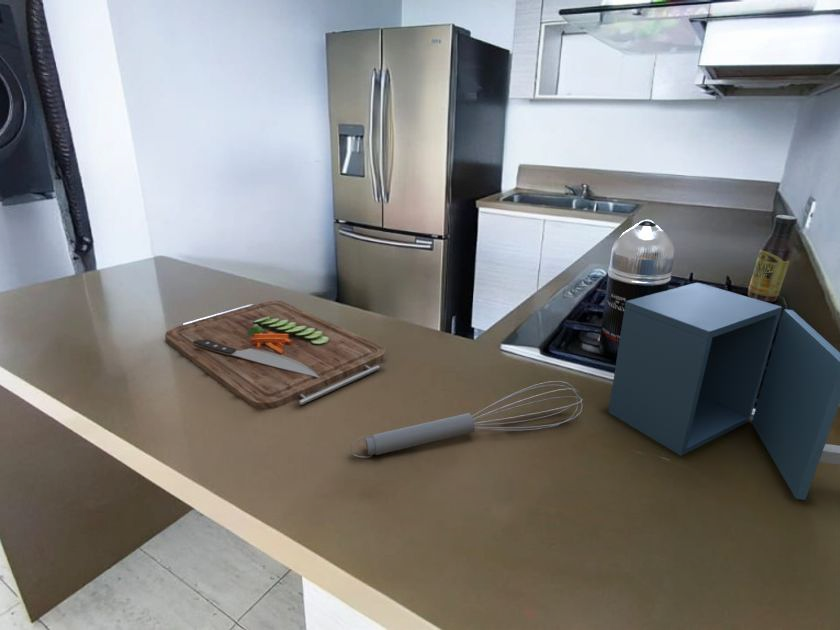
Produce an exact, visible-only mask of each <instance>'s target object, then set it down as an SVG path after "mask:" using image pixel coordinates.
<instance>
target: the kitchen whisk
mask: <svg viewBox="0 0 840 630" xmlns="http://www.w3.org/2000/svg"><path fill="white" fill-rule="evenodd" d="M548 383H563V384H567V385H568V386H570V387H571V388H570V387H568V386H567V385H561V384H555V386H557V387H563V388H559V389H555V390H551V391H547V392H543V393H540V394H537V395H533V396H529V397H527V398H523V399H521V400H517V401H515V402H512V403H509V404H506V405H503V406H501V407H498V408H496V409H493V410H491V411H489V412H488V411H487V412H486V413H484V414H481V415H479V416H477V415H478V414H480V413H482V412H484V411H486V410H488V409H489V408H492V407H493V406H495V405H497V404H499V403H501V402H504V401H506V400H507V399H509V398H512V397H514V396H517V395H519V394H522V393H524V392H528V391H531V390H534V389H539V388H543V387H552V386H553V387H554V384H548ZM566 390H570V391H572V392H573V393H574V394H575V396H574V395H571V396H570V395H564V396H557V397H550V398H549V397H548V398H544V399H539V400H535V401H532V402H527V403H524V404H520V405H516V406H513V407H509V406H512V405H514V404H518V403H520V402H523V401H526V400H529V399H533V398H535V397H539V396H542V395H546V394H549V393H554V392H558V391H566ZM577 393H578V394H577ZM559 398H560V399H561V398H576V399H575V401H574V402H573V403H572V404H568V405H565V406H561V407H557V408H553V409H547V410H543V411H538V412H532V413H525V414H522V415H515V416H510V417H503V418H497V419H490V420H484V421H478V420H480V419H483V418H486V417H489V416H493V415H496V414H498V413H502V412H506V411H509V410H513V409H515V408H519V407H522V406H523V407H524V406H526V405H530V404H535V403H539V402H542V401H547V400H553V399H559ZM583 400H584V399H583V398H582V397H580V391H579V390H578V389H576V388H575V387H573V385H571V384H570V383H569V382H565V381H561V380H554V381H553V380H551V381H550V380H549V381H545V382H541V383H537V384H533V385H531V386H527V387H525V388H523V389H521V390H518V391H516V392H513V393H512V394H510V395H507V396H505V397H503V398H500V399H499V400H497V401H496V402H494V403H492V404H490V405H488V406H487V407H485V408H483V409H481V410H480V411H478V412H476V413H474V414H473V415H472V414H471V413H470V412H467V413H463V414H459V415H454V416H450V417H445V418H441V419H436V420H432V421H428V422H423V423H418V424H415V425H411V426H405V427H402V428H397V429H391V430H387V431H384V432H379V433H375V434H372V435H371V436H368V435H364V436H362V437H360V438H358V439H357V440H355V441H354V442H353V443H352V444H351V446H350V453H351V454H352V455H353V456H355V457H357V458H365V459H366V458H371V457H372V456H373V455H375V456H379V455H383V454H388V453H392V452H396V451H401V450H404V449H408V448H409V449H410V448H412V447H416V446H421V445H426V444H429V443H434V442H439V441H442V440H447V439H450V438H455V437H459V436H463V435H464V436H465V435H467V434H471V433H472V434H473V433H474V432H475V430H476V429H478V430H487V431H489V430H490V431H508V432H509V431H515V432H516V431H517V432H518V431H520V432H521V431H534V430H539V429H540V430H541V429H542V428H544V429H547V428H552V427H557V426H559V425H561V424H563V423H564V424H565V423H567V422H569V421H571V420H574V419H576V418H577V417H578V416H579V415H580V414H581V413H582V410H583V407H584V405H583V403H582V401H583ZM579 404H581V407H580V411H579V413H577V414H576V412H577V411H578V408H579ZM575 405H576V408H575V410H574V412H573V414H572V415H571V416H569V417H568V418H567V419H566V420H564V421H560V422H556V423H552V424H544V425H534V426H521V427H520V426H516V427H515V426H509V427H508V426H507V427H505V426H504V427H502V426H501V427H499V426H498V427H497V426H493V425H506V424H515V423H521V422H527V421H528V422H529V421H533V420H537V419H538V417H536V418H530V419H524V420H518V421H517V420H516V421H508V422H497V423H491V422H495V421H502V420H509V419H514V418H520V417H526V416H531V415H536V414H537V415H538V414H542V413H546V412H551V411H552V412H553V411H556V410H559V411H558V412H555V413H552V414H548V415H544V416H540V417H539V419H543V418H547V417H551V416H554V415H557V414H560V413H562V412H564V411H566V410H568V409H570V408H571V407H573V406H575ZM506 407H509V408H506ZM504 408H506V409H504ZM501 409H503V410H501ZM561 409H562V410H561ZM495 411H496V412H495ZM575 414H576V415H575ZM475 416H476V417H475ZM473 417H474V418H473ZM475 421H478V422H475ZM489 422H490V423H489ZM364 438H365V445H366V450H367V455H368V456H363V455H357V454H354V453H353V446H354V445H355V444H356V443H357V442H359V441H360V440H362V439H364Z"/></svg>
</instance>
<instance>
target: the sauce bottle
mask: <svg viewBox="0 0 840 630" xmlns="http://www.w3.org/2000/svg"><path fill="white" fill-rule="evenodd" d="M797 221H798V217H796V216H793V215H786V214H785V215H784V214H778V215H776V216H775V218H774V220H773V222H774V223H773V227H772V231H771V232H770V235H769V236H768V237H767V239H766V241H765V242H764V244H763V245H762V246H761V248H760V249H759V252H758V256H757V259H756V261H755V266H754V267H753V272H752V275H751V279H750V282H749V285H748V290H747V297H750V298H753V299H757V300H760V301H764V302H767V303H773V302H776V301H777V300H778V296H780V294H781V293H780V292H781V289H782V286H783V283H784V280H785V278H786V275H787V271H788V268H789V265H790V262H791V257H792V254H793V250H794V245H793V242H792V234H793V232H794V231H793V230H794V227H795V225H796V224H797Z"/></svg>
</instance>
